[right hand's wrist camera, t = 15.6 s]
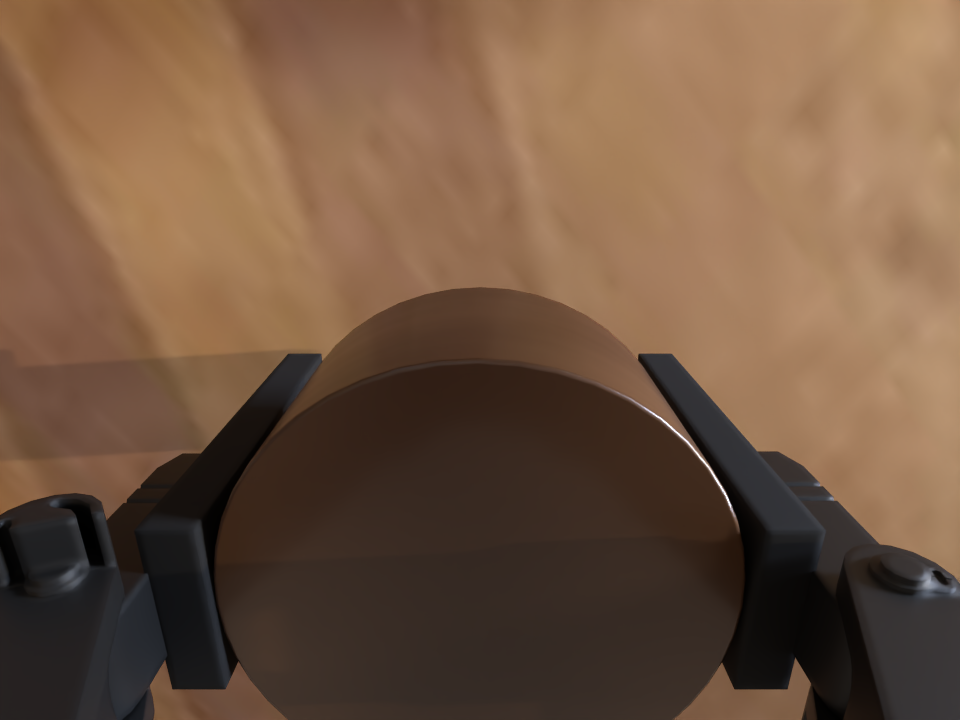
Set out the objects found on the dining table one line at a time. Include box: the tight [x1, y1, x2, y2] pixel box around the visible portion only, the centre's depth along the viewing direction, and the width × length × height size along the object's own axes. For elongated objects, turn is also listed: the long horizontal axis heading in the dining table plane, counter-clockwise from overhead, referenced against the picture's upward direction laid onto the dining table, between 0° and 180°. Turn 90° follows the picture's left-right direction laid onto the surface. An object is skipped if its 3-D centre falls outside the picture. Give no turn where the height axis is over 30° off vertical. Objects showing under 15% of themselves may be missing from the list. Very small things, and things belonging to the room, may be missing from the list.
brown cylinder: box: [213, 287, 746, 720], centre depth 10 cm, size 7×7×4 cm
